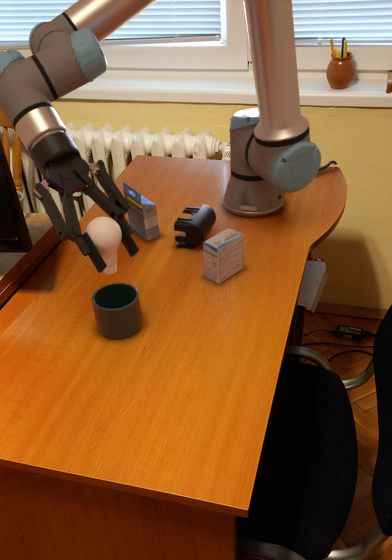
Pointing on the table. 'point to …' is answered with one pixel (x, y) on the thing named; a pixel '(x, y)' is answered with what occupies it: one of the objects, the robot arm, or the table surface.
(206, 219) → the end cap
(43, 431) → the table surface
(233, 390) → the table surface
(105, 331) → the pen cup
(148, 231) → the label tape box
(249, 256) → the table surface
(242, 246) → the medicine box
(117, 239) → the lightbulb
